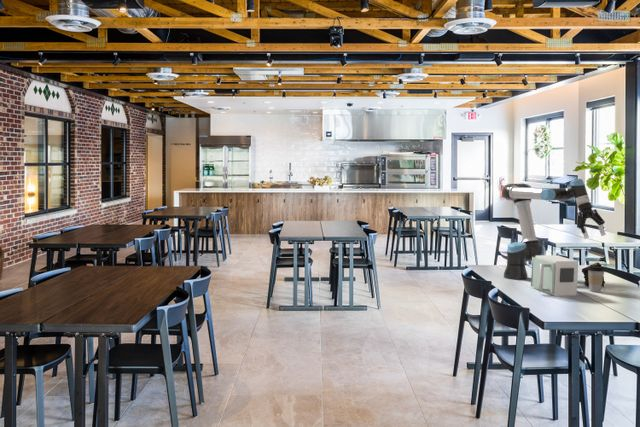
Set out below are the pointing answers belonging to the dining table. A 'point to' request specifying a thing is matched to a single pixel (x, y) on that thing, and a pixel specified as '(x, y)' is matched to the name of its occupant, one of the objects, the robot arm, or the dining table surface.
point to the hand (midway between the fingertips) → (595, 236)
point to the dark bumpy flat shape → (588, 273)
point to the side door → (543, 275)
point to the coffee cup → (595, 278)
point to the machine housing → (563, 274)
